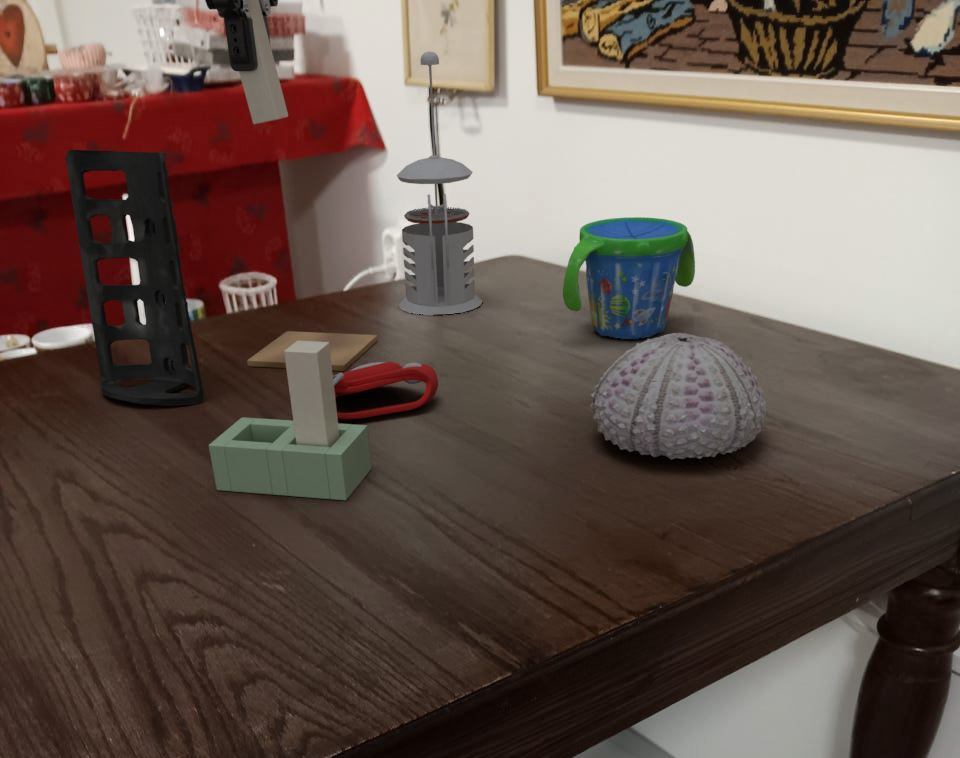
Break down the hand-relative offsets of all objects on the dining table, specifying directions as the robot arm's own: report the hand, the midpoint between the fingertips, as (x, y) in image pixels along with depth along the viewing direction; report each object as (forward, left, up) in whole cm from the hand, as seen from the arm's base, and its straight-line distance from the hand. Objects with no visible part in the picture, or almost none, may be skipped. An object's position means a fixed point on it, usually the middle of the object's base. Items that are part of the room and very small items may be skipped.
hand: (252, 68), depth 84 cm
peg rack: (+12, -27, -25) cm, 39 cm away
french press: (+10, +21, -25) cm, 34 cm away
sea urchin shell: (+39, -15, -25) cm, 49 cm away
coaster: (+2, +2, -25) cm, 25 cm away
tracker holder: (+12, -12, -25) cm, 30 cm away
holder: (-8, -11, -25) cm, 29 cm away
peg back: (+1, 0, -4) cm, 4 cm away
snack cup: (+32, +14, -25) cm, 43 cm away
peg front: (+14, -27, -25) cm, 40 cm away
